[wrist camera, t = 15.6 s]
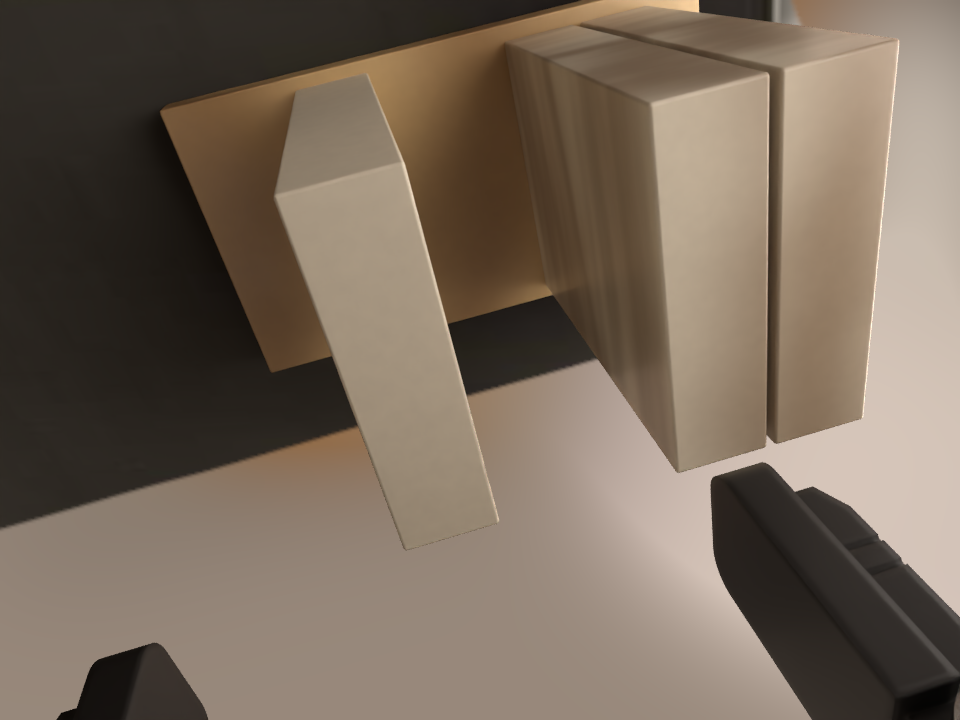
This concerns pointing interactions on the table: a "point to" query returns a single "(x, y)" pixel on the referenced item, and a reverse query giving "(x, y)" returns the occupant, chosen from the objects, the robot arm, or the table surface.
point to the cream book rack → (611, 201)
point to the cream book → (381, 309)
